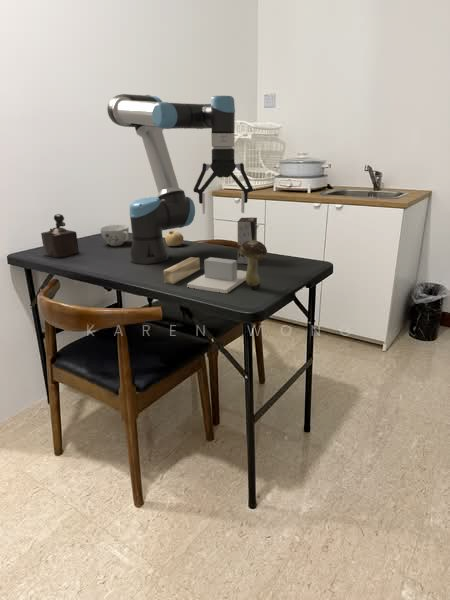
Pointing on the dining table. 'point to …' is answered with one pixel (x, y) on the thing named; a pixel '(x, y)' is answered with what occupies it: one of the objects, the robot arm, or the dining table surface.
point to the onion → (174, 238)
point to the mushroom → (253, 260)
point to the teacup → (115, 234)
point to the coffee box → (246, 235)
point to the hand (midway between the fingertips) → (223, 212)
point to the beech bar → (181, 270)
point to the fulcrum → (219, 276)
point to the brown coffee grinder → (59, 240)
